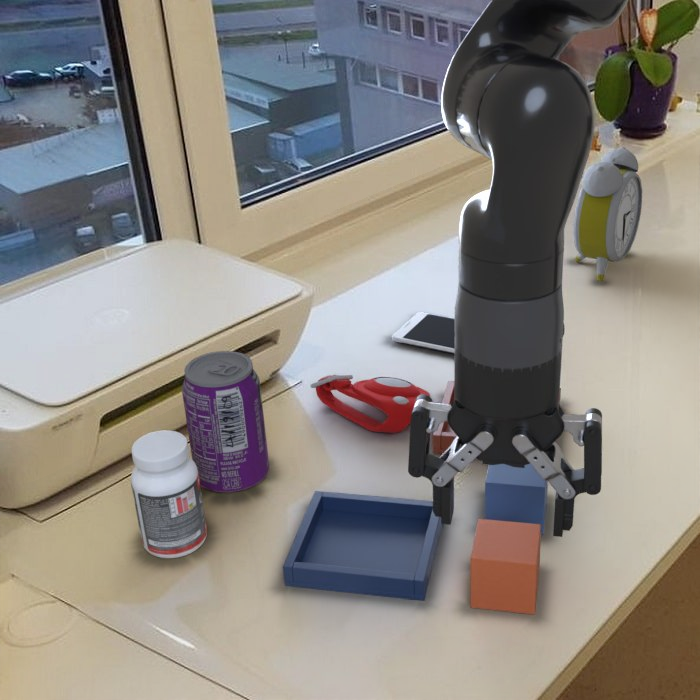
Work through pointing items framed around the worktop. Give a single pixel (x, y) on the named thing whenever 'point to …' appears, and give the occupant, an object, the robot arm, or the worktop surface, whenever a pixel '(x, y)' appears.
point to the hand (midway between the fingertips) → (502, 524)
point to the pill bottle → (167, 495)
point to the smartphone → (428, 332)
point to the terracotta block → (505, 566)
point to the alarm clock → (608, 209)
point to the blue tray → (365, 545)
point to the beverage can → (225, 421)
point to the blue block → (515, 495)
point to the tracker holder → (372, 400)
